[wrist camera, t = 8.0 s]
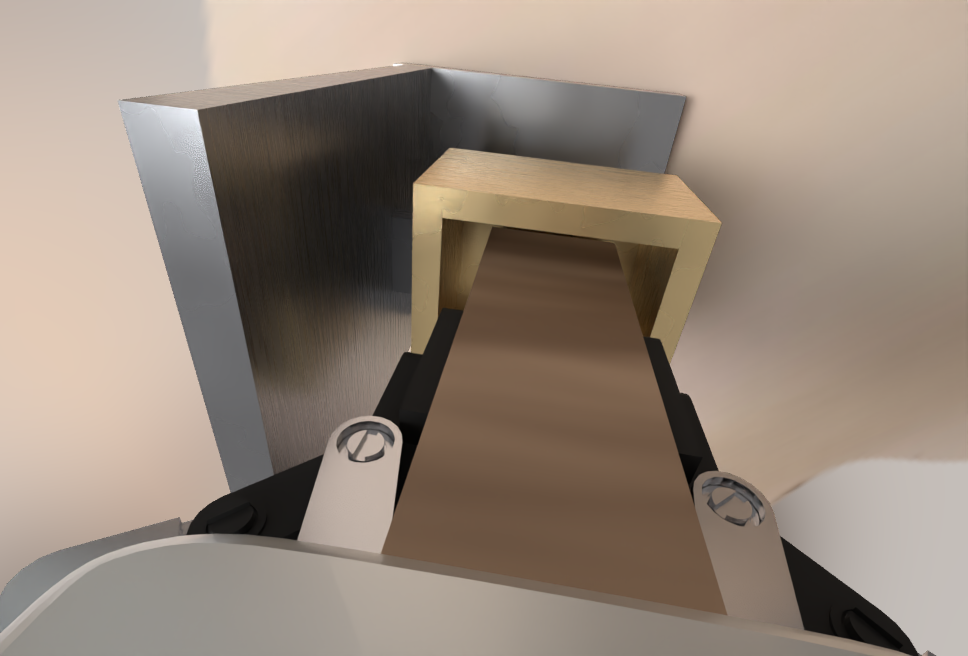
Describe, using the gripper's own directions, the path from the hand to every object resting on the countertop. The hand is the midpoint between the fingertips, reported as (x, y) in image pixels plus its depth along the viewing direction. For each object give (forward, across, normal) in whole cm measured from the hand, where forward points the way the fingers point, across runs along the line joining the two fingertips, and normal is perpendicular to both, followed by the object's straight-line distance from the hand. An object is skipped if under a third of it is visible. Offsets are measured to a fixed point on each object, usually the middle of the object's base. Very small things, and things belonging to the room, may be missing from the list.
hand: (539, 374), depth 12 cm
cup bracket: (+13, +1, 0) cm, 13 cm away
